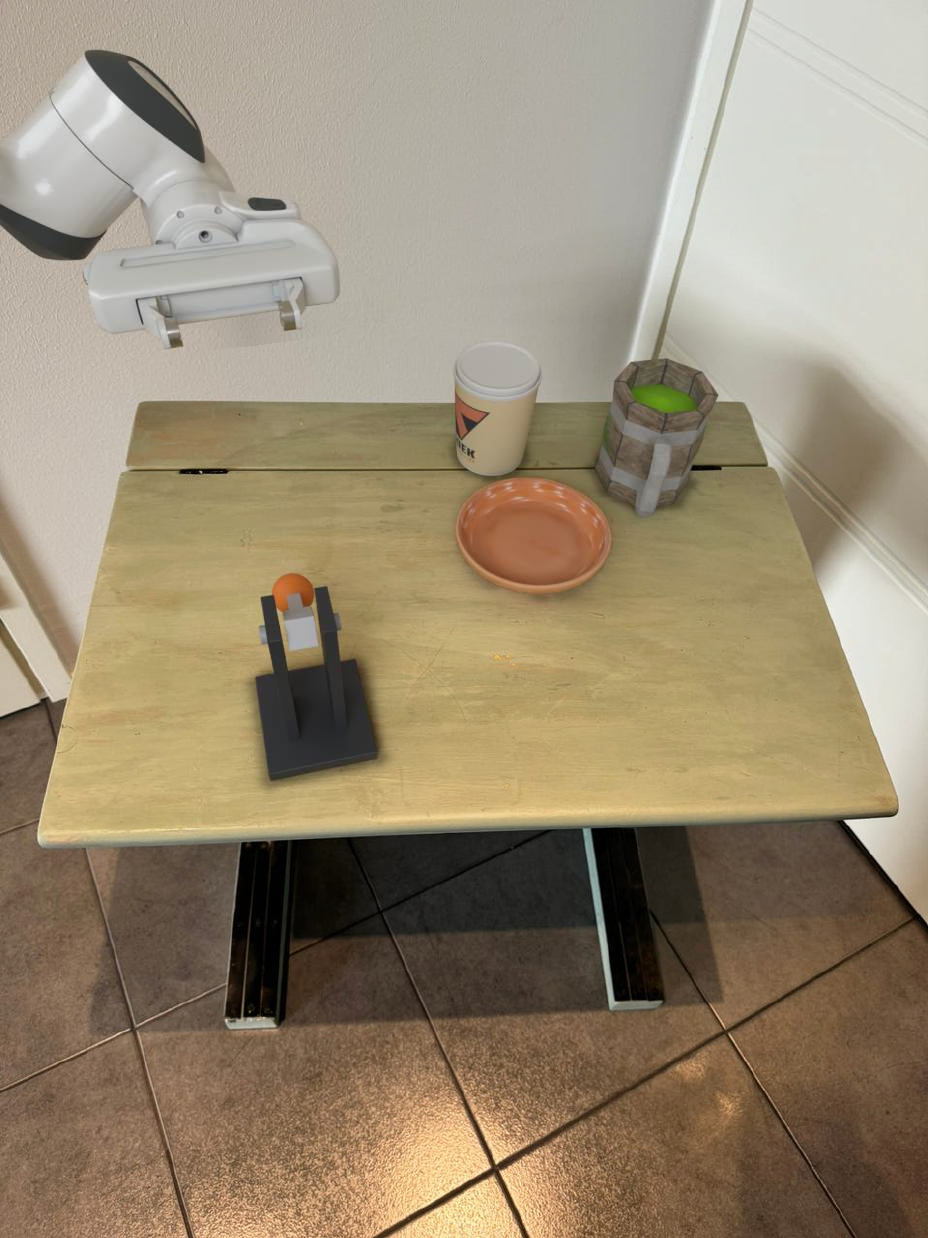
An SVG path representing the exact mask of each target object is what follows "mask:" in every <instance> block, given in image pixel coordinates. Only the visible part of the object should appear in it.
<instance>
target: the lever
mask: <svg viewBox="0 0 928 1238" xmlns="http://www.w3.org/2000/svg"><path fill="white" fill-rule="evenodd" d="M271 595H274V598H275V603H276V608H277V610H279V611H280V612H281V613H282V617H283V624H284V629H285V635H286V640H287V645H288V651H289V652H293V651H299V650H300V651H301V650H306V649H311V648H317V647H320V641H319V638H318V637H319V636H318V630H317V625H316V618H315V613H314V611H313V607H312V605H313V602H314V599H315V591H314V585H313V584H312V582H311V581H310V580H309V579H308V578H307V577H306V576H304V575H302V574H299V573H295V572H294V573H293V572H292V573H290V572H289V573H286V574H284V575H282V576H280V577H278V578H277V580H276V581H275V582H274V584H273V586H272V589H271Z"/></svg>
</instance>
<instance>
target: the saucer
mask: <svg viewBox="0 0 928 1238" xmlns="http://www.w3.org/2000/svg"><path fill="white" fill-rule="evenodd" d="M455 539H456V544H457V546H458V549H459V551H460V554H461V556H462V557H463V559H464V561H465V562H466V563H467V565H468V566H469V567H470V568H471V570H473V571H474V572H475V573H476V574H478V575H479V576H480V577H482V578H483V579H484V580H486V581H488V582H490V583H491V584H494V585H496V586H498V587H501V588H503V589H506V590H509V591H512V592H516V593H520V594H521V593H522V594H529V595H546V594H556V593H560V592H565V591H569V590H572V589H574V588H577V587H579V586H581V585H583V584H585V583H586V582H588V581H590V580H591V579H592V578H593V577H595V576H596V575H597V574H598V572H600V570H601V569H602V568H603V566H604V565H605V563H606V561H607V559H608V557H609V555H610V553H611V549H612V545H613V544H612V543H613V534H612V528H611V525H610V523H609V520H608V519H607V516H606V515H605V513H604V511H603V510H602V509H601V508H600V506H598V504H597V503H596V502H594V501H593V499H591V498H590V497H589V496H587V495H586V494H585V493H583V492H581V491H580V490H578V489H576V488H574V487H572V486H570V485H568V484H565V483H563V482H559V481H556V480H553V479H547V478H543V477H542V478H541V477H532V476H531V477H529V476H525V477H522V476H520V477H511V478H506V479H502V480H498V481H495V482H492V483H490V484H488V485H485V486H483V487H482V488H480V489H478V490H477V491H476V492H474V493H473V494H472V495H470V496H469V497H468V498H467V499H466V501H465V502H464V503H463V504H462V506H461V508H460V510H459V512H458V514H457V517H456V520H455Z"/></svg>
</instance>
